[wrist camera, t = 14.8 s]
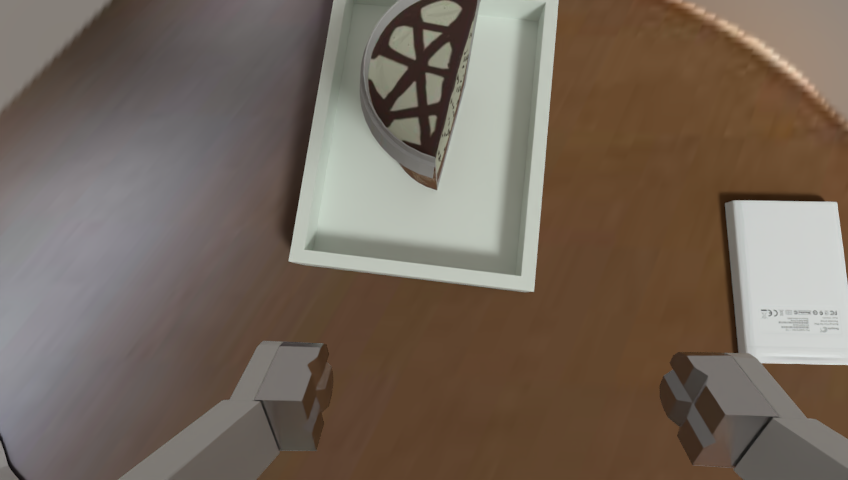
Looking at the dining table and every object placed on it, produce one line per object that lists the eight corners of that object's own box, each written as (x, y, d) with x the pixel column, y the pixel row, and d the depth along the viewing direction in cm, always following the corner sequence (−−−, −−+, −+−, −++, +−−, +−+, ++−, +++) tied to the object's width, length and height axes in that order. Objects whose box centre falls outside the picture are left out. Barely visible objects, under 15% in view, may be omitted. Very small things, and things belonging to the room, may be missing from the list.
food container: (399, 52, 34) (385, -49, 24) (469, 69, 33) (485, -27, 24) (359, 189, 32) (326, 140, 22) (432, 208, 32) (432, 167, 22)
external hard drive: (820, 206, 33) (840, 362, 31) (719, 204, 33) (733, 359, 31) (840, 201, 31) (862, 365, 29) (734, 199, 31) (749, 363, 29)
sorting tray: (301, 264, 32) (288, 261, 29) (346, -2, 36) (338, -29, 33) (524, 292, 32) (534, 291, 29) (548, 18, 35) (559, -8, 32)
